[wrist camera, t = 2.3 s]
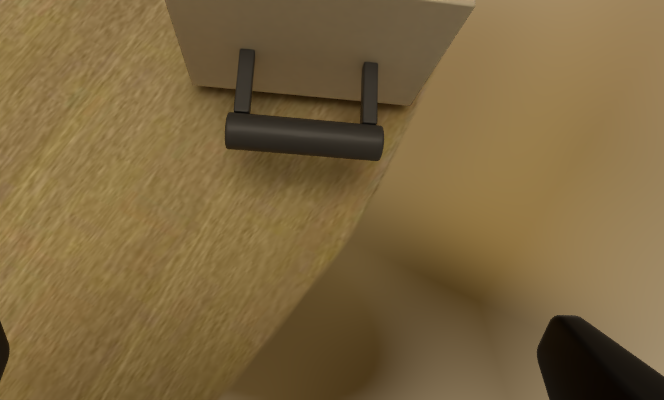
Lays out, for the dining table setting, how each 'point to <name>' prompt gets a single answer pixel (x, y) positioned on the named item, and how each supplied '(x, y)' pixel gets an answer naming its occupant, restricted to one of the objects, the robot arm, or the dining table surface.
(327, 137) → the drawer
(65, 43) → the dining table surface
